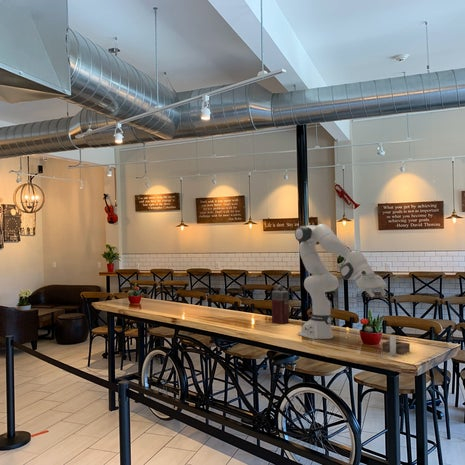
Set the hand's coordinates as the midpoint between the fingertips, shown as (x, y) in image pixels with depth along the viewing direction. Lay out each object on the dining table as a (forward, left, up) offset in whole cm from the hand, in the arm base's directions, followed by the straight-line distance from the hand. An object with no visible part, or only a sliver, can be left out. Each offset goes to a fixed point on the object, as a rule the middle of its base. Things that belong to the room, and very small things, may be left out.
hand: (378, 295), depth 247 cm
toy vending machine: (-91, +23, -30) cm, 98 cm away
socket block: (+7, +6, -30) cm, 31 cm away
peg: (+10, -4, -30) cm, 32 cm away
